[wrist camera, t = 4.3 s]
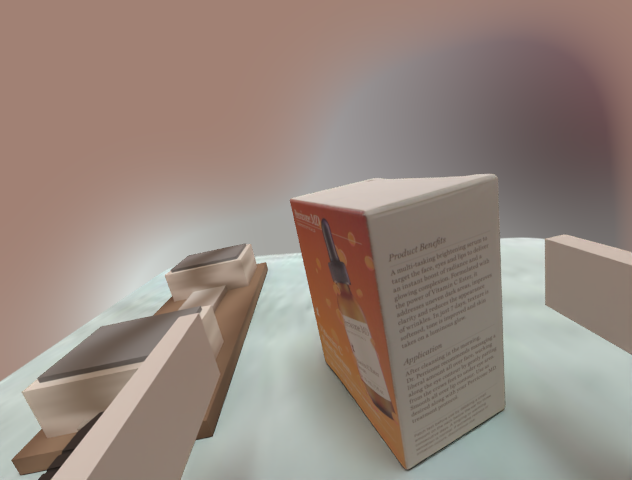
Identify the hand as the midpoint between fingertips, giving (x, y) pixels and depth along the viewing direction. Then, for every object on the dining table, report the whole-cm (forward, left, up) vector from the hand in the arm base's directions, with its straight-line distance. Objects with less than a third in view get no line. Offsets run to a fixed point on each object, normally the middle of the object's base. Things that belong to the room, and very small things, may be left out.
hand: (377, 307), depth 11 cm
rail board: (+14, -14, -6) cm, 21 cm away
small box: (-1, -3, -7) cm, 7 cm away
